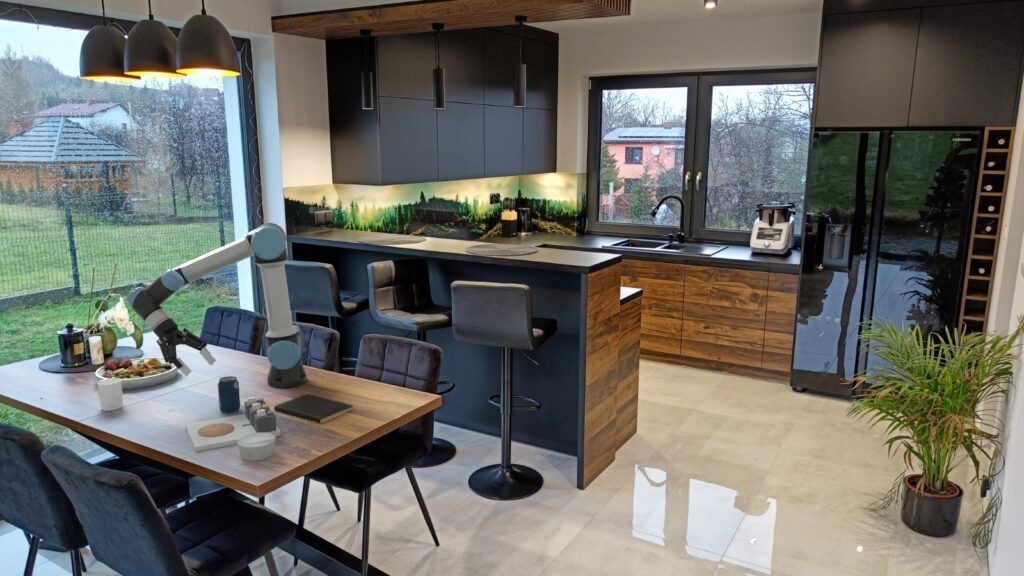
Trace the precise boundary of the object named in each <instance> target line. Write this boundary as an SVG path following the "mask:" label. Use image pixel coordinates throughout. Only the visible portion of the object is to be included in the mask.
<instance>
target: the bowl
mask: <svg viewBox="0 0 1024 576" xmlns="http://www.w3.org/2000/svg"><path fill="white" fill-rule="evenodd" d="M178 371H179V369H178V368H177V367H176V366H175V365H174V364H173V363H172V364H169V362H168V363H166V362H165V360H164V357H139V358H133V359H130V358H128V357H122V358H120V359H116V358H110V359H108V360H106V361H105V362H104V365H103V366H101V367H99V368H98V369H96V371H95V374H94V376H95V379H96V381H97V382H98V381H100V380H103V379H108V378H120V379H122V390H133V389H140V388H141V389H142V388H148V387H152V386H157V385H161V384H163V383H165V382H168V381H170V380H171V379H173V378H174V377H175V376H176V375H177V374H178Z"/></svg>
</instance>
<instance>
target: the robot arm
mask: <svg viewBox="0 0 1024 576" xmlns="http://www.w3.org/2000/svg"><path fill="white" fill-rule="evenodd" d="M253 256H254V263H255V265H257V267H259V268H260V276H261V281H262V289H263V297H264V302H265V309H266V311H265V312H266V317H267V323H268V331H267V332H266V333H265V338H266V339H265V340H266V345H267V346H266V347H267V348H266V349H267V353H266V356H267V360H268V362H269V364H270V367H269V371H268V374H267V378H266V379H267V385H268V386H270V387H273V388H283V389H284V388H292V387H297V386H300V385H303V384H305V383H306V382H307V381H308V375H307V373H306V370H305V368H304V365H303V361H302V346H301V345H302V342H301V340H302V339H301V333H302V332H301V328H300V326H299V325H293V318H292V310H291V302H290V296H289V289H288V282H287V281H288V280H287V273H286V269H285V268H286V267H285V264H286V263H287V262H288V261H289V259H288V250H287V235H286V232H285V230H284V229H283V228H282V226H280V225H278V224H276V223H273V222H272V223H271V222H267V223H262V224H261V225H259V226H258V227H257V228H255V229H253V230H250V231H249V232H247V233H245V234H244V236H243V238H240V239H238V240H235V241H232V242H231V243H227V244H226V245H224V246H221V247H218V248H216V249H215V250H212V251H209V252H207V253H205V254H203V255H201V256H198V257H196V258H194V259H191V260H190V261H189V260H188V261H187V262H183V263H182V264H180V265H178V266H175V267H171V268H169V269H167V270H165V271H164V272H163V273H161V274H160V276H159V277H157V278H156V279H155V280H154V281H153V282H152V283H151V284H150V285H149V286H148V287H146V288H145V287H143V286H140V287H136V288H135V289H133V290H131V291H130V292H129V293H127V295H126V302H127V303H128V305H129V306H130V308H131V309H132V311H134V312H135V313H136V314H137V315H138V316H139V318H141V320H142V321H144V323H145V324H146V325H147V326H148V327H149V328H150V329H151V330H152V331H153V333H154V335H156V336H157V338H158V339H156V341H155V342H156V344H157V345H158V346H159V348H160V351H161V352H160V353H161V355H162V358H164V360H165V362H166V363H168V362H169V364H172V363H173V364H174V365H175V366H176V367H177V368H178V370H180V372H181V373H182V374H183V375H184V376H185V377H188V376H189V375H190V374H191V373H192V369H191V368H190V367H188V364H186V363H185V362H184V361H183V360H182V359H181V357H178V356H177V346H178V345H179V346H181V345H182V346H186V347H187V346H188V347H190V348H192V349H195V350H197V351H199V352H198V353H199V355H201V356H202V358H203V359H204V360H205V361H206V362H207V363H208V365H210V366H213V364H215V362H217V359H216V358H215V357H214V356H213V355H212V354H211V352H210V351H209V350H208V348H207V347H208V346H207V345H208V342H207V341H205V340H203V339H201V338H200V337H198V336H197V335H195V334H194V333H192V332H191V331H190V330H188V329H187V327H186V328H183V330H180V329H179V325H178V324H177V322H176V321H175V320H174V319H173V318H171V316H170V314H169V313H167V311H166V310H165V309H164V308H163V307H162V306H161V305H162V304H163V303H165V301H166V300H168V299H169V298H170V297H172V296H173V295H174V294H175V293H176V292H177V291H179V290H180V289H181V288H182V287H184V286H186V285H189V284H190V283H191V284H192V283H193V282H195V281H198V280H200V279H202V278H204V277H207V276H209V275H211V274H214V273H217V272H218V271H220V270H223V269H225V268H228V267H230V266H232V265H235V264H237V263H239V262H242V261H244V260H246V259H248V258H250V257H253Z"/></svg>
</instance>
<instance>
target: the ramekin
mask: <svg viewBox="0 0 1024 576" xmlns="http://www.w3.org/2000/svg"><path fill="white" fill-rule="evenodd" d="M276 441H277V439H276V437H275V436H274V435H273V434H270V433H252V434H248V435H245V436H243V437H241V438H240V439H239V440H238V441H237V444H236V446H237V447H238V452H239V454H240V457H241V459H242V460H244V461H247V462H260V461H263V460H267V459H270V458H271V457H272V456H273V455H274V453H275V451H274V450H275V444H276Z"/></svg>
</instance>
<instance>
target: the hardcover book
mask: <svg viewBox="0 0 1024 576" xmlns="http://www.w3.org/2000/svg"><path fill="white" fill-rule="evenodd" d="M352 407H354V405H353V404H348V403H345V402H341V401H337V400H334V399H329V398H325V397H322V396H318V395H314V394H311V393H307V394H303V395H301V396H298V397H296V398H292V399H290V400H287V401H284V402H282V403H279V404H276V405H274V409H273V410H274V411H275V412H277V411H278V412H277V413H281V412H282V414H284V413H286V414H285V415H288V414H289V415H288V416H291V415H292V416H291V417H295V416H296V418H298V417H300V418H299V419H302V418H303V419H302V420H305V419H307V420H306V421H309V420H311V421H310V422H312V421H315V422H314V423H316V422H318V423H317V424H319V423H320V422H322V423H324V422H323V421H325V420H327V419H329V420H331V419H330V418H332V417H334V418H336V417H335V416H337V415H339V414H341V415H343V414H342V413H344V412H346V411H349V410H351V409H352V410H353V408H352ZM352 410H351V411H352ZM349 412H350V411H349ZM346 413H347V412H346ZM344 414H345V413H344ZM339 416H340V415H339ZM337 417H338V416H337ZM332 419H333V418H332ZM327 421H328V420H327ZM325 422H326V421H325Z"/></svg>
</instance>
